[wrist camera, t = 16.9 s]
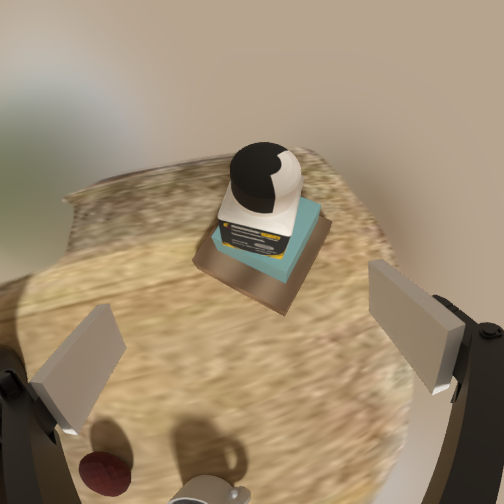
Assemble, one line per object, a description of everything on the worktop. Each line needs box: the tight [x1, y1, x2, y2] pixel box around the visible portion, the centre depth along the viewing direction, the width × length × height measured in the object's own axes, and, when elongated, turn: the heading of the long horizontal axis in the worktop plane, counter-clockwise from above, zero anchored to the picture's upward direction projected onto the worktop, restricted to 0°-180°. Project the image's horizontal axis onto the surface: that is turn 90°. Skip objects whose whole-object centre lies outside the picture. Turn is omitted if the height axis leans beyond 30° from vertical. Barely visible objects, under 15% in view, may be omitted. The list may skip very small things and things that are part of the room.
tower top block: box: [212, 196, 321, 284], centre depth 37 cm, size 10×10×4 cm
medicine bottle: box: [218, 142, 304, 259], centre depth 29 cm, size 7×7×12 cm
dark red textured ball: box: [79, 452, 131, 497], centre depth 26 cm, size 7×8×7 cm
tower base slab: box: [192, 215, 332, 316], centre depth 40 cm, size 14×14×4 cm
